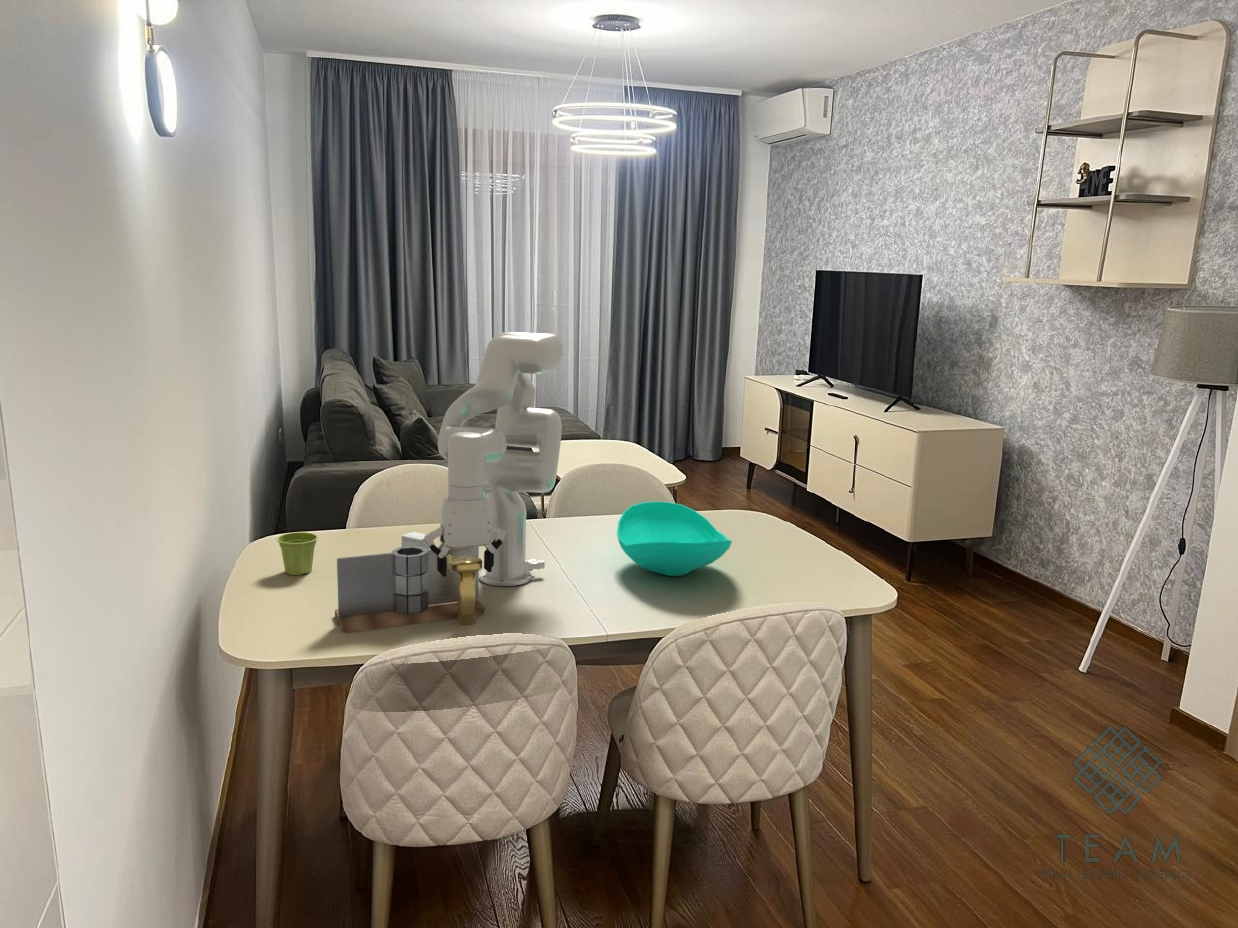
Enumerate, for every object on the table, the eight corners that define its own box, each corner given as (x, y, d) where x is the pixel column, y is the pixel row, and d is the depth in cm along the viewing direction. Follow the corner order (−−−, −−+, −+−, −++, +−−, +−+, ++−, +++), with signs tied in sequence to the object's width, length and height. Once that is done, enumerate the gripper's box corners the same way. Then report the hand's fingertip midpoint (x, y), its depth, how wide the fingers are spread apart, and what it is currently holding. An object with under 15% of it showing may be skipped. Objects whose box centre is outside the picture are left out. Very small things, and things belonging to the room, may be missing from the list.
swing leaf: (397, 614, 197) (396, 557, 195) (390, 603, 204) (389, 548, 201) (482, 603, 206) (483, 549, 203) (473, 593, 212) (473, 540, 209)
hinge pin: (476, 614, 204) (476, 555, 201) (485, 625, 198) (486, 563, 196) (447, 618, 201) (447, 558, 199) (456, 629, 196) (456, 567, 193)
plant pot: (323, 566, 233) (322, 532, 231) (313, 578, 224) (311, 543, 222) (285, 565, 233) (284, 531, 231) (273, 577, 223) (271, 542, 222)
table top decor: (750, 595, 222) (754, 541, 220) (636, 600, 216) (638, 545, 214) (700, 546, 260) (703, 500, 257) (602, 550, 254) (603, 502, 251)
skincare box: (399, 584, 221) (399, 535, 219) (412, 579, 225) (412, 530, 223) (420, 589, 218) (419, 539, 216) (432, 584, 222) (432, 535, 220)
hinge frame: (422, 601, 207) (422, 545, 204) (431, 612, 201) (431, 554, 198) (335, 611, 199) (334, 553, 196) (341, 623, 193) (340, 563, 190)
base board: (471, 599, 213) (471, 592, 213) (484, 614, 205) (484, 607, 204) (334, 616, 200) (334, 609, 200) (343, 632, 192) (343, 625, 191)
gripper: (500, 486, 201) (499, 564, 204) (420, 491, 193) (420, 571, 196) (512, 493, 194) (510, 573, 197) (429, 498, 187) (429, 581, 190)
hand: (465, 572), depth 197 cm, fingers open, 9 cm apart
